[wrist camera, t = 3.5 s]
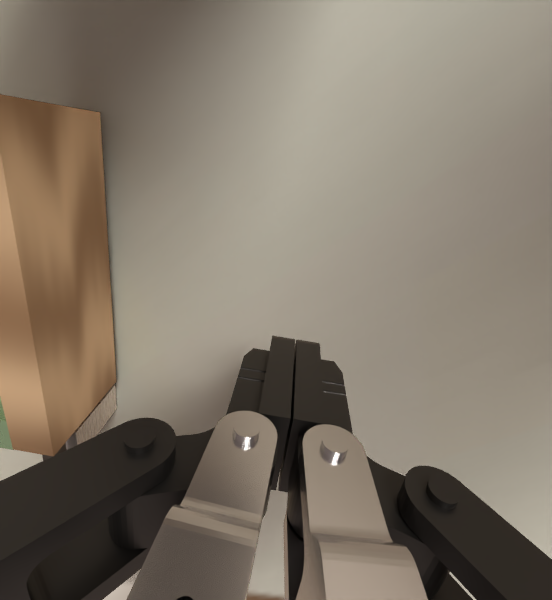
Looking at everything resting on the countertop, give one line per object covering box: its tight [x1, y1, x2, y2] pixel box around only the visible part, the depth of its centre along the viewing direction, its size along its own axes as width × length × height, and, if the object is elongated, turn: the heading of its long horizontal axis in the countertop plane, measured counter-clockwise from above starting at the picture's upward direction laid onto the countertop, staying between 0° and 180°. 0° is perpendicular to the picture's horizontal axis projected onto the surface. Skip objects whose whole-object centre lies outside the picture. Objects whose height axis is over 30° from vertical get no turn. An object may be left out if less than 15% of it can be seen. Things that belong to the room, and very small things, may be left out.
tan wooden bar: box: [0, 94, 116, 461], centre depth 13 cm, size 15×6×5 cm, turn 172°
